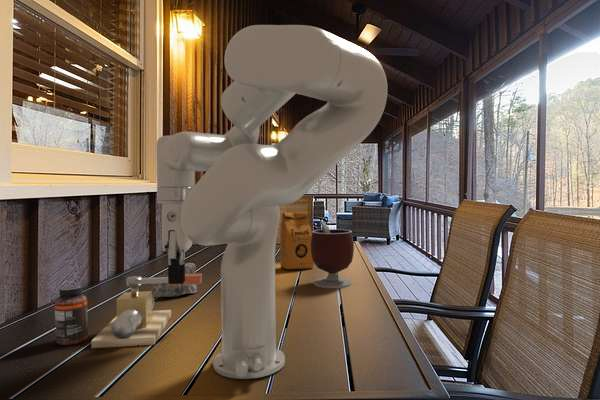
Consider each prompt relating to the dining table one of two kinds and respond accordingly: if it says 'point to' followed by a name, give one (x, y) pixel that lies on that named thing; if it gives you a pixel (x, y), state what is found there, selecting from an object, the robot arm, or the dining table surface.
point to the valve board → (134, 333)
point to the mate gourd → (332, 255)
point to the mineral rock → (176, 290)
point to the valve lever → (163, 280)
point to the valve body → (132, 312)
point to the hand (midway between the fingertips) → (176, 282)
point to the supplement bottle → (71, 316)
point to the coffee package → (295, 241)
